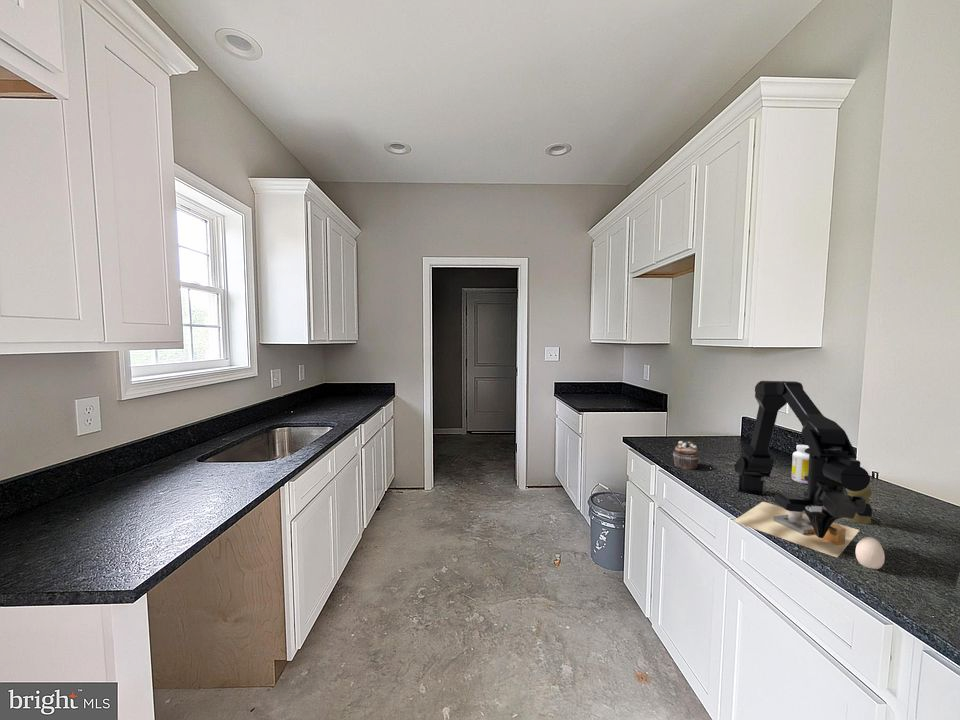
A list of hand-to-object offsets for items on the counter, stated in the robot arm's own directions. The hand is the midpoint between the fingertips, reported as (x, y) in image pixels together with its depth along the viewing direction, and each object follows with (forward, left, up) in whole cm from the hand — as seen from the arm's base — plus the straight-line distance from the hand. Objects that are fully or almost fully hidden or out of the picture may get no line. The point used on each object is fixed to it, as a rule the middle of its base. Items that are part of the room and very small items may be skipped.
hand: (819, 537), depth 98 cm
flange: (-3, +5, -1) cm, 6 cm away
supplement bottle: (-16, +51, -2) cm, 54 cm away
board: (-6, +5, -2) cm, 9 cm away
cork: (+3, +24, -2) cm, 24 cm away
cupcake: (-49, +33, -2) cm, 60 cm away
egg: (+10, -4, -2) cm, 11 cm away
